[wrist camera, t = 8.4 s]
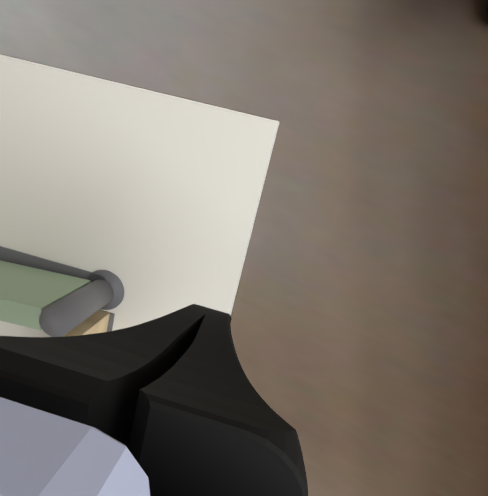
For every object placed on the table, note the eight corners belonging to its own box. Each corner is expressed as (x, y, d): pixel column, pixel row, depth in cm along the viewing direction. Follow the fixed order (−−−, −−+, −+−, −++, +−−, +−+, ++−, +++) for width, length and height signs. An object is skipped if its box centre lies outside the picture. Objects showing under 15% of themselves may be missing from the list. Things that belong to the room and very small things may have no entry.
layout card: (196, 451, 24) (194, 457, 24) (-65, 368, 26) (-72, 372, 25) (279, 122, 19) (279, 121, 18) (-58, 41, 20) (-66, 38, 20)
